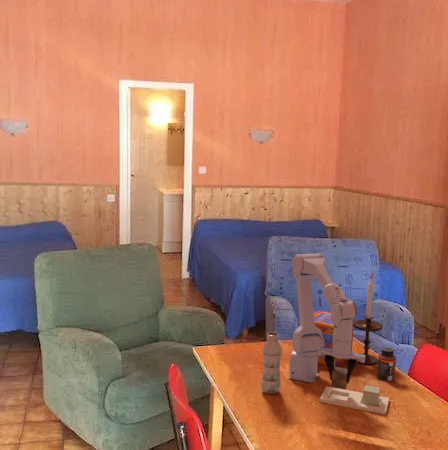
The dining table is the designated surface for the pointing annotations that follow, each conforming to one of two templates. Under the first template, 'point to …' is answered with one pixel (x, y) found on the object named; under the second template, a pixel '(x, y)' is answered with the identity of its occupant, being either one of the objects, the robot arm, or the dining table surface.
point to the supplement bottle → (386, 365)
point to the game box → (327, 333)
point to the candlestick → (368, 327)
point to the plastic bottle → (271, 364)
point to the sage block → (371, 395)
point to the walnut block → (339, 378)
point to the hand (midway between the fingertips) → (339, 380)
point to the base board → (352, 400)
